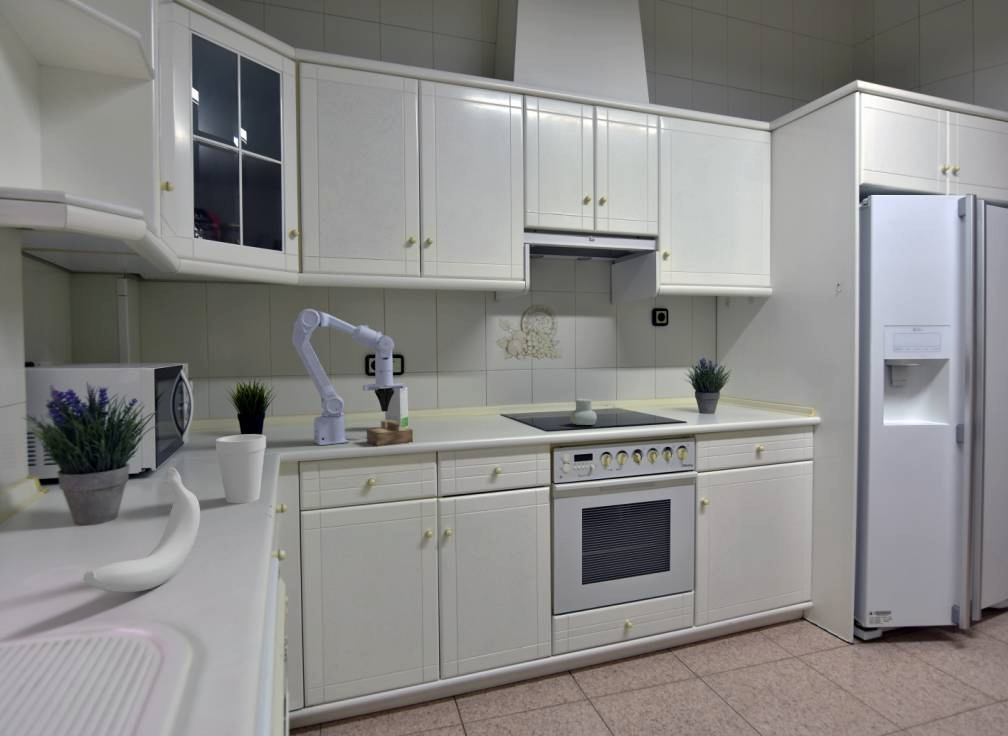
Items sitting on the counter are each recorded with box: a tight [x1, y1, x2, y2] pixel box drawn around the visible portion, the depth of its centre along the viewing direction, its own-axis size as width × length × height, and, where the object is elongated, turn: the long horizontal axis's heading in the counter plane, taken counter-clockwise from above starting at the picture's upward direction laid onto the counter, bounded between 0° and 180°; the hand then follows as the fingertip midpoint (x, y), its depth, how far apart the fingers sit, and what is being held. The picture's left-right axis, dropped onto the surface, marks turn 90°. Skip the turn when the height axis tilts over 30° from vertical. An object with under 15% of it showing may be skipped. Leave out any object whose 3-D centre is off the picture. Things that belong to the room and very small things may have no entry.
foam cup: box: [215, 433, 267, 504], centre depth 118 cm, size 10×9×13 cm
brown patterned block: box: [380, 419, 396, 428], centre depth 194 cm, size 4×4×6 cm
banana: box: [82, 466, 201, 593], centre depth 77 cm, size 5×19×15 cm, turn 178°
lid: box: [370, 422, 412, 433], centre depth 183 cm, size 11×8×3 cm
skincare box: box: [384, 386, 410, 429], centre depth 211 cm, size 8×7×16 cm
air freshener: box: [570, 398, 598, 426], centre depth 216 cm, size 11×8×10 cm
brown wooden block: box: [366, 426, 414, 447], centre depth 183 cm, size 12×9×4 cm
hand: (384, 411), depth 190 cm, fingers closed
